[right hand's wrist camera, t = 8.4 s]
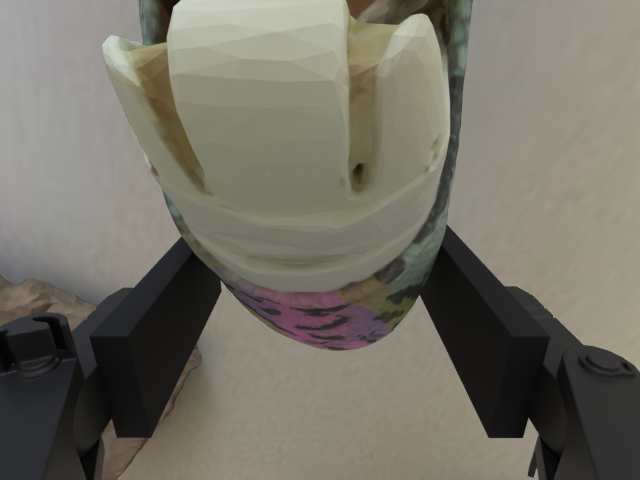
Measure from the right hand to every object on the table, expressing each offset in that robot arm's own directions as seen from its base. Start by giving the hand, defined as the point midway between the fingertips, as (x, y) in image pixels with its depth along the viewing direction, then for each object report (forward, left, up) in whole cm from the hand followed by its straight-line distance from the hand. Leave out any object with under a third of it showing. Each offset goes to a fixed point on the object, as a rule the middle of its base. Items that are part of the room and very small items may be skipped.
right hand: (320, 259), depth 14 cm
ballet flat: (+8, +5, 0) cm, 9 cm away
